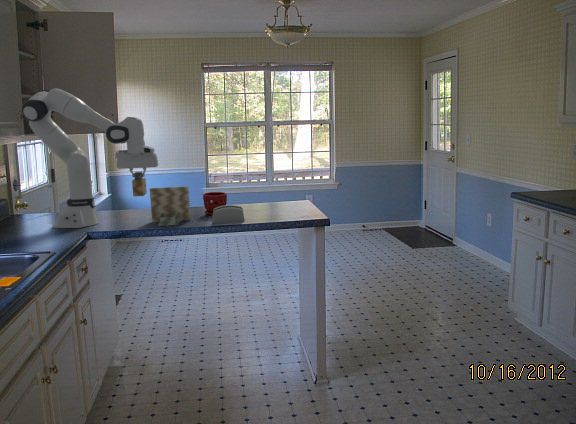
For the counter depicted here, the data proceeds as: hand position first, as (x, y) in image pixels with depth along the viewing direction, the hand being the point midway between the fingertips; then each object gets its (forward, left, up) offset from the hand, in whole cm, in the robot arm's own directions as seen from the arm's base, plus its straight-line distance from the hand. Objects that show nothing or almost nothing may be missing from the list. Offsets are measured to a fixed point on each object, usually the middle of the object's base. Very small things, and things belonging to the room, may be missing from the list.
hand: (138, 176), depth 281 cm
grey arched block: (+44, -3, -26) cm, 51 cm away
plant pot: (+37, +21, -25) cm, 49 cm away
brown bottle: (0, 0, -9) cm, 9 cm away
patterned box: (+14, +1, -25) cm, 29 cm away
